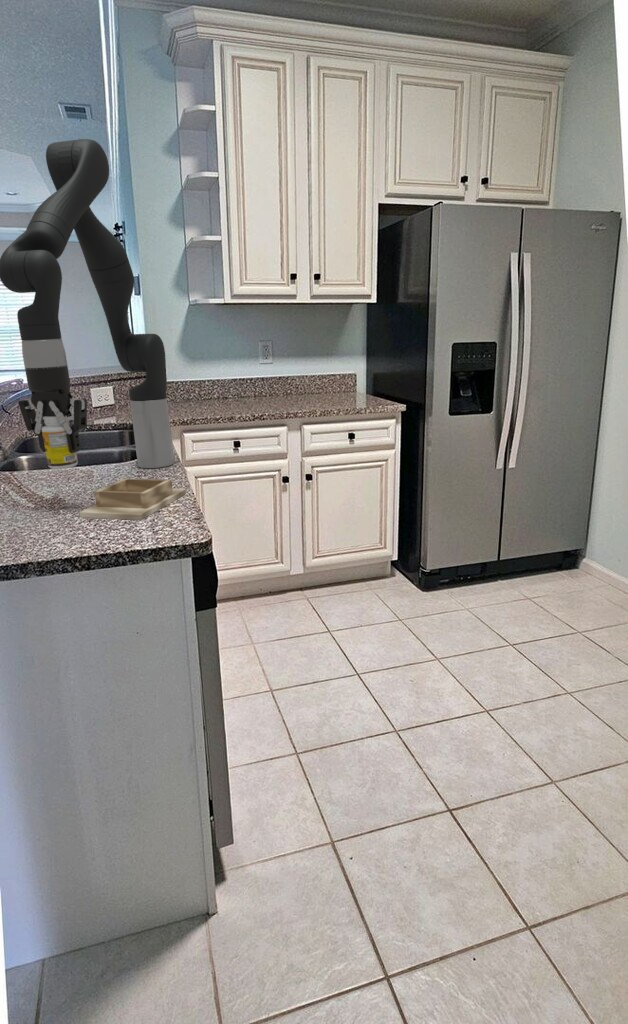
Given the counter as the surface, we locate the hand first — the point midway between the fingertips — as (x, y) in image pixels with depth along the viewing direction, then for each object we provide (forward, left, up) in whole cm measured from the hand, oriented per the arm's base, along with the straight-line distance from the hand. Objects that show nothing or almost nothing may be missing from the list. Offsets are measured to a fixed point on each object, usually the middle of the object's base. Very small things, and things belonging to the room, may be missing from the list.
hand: (60, 451), depth 121 cm
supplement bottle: (0, 0, -3) cm, 3 cm away
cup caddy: (-4, +13, -12) cm, 18 cm away
